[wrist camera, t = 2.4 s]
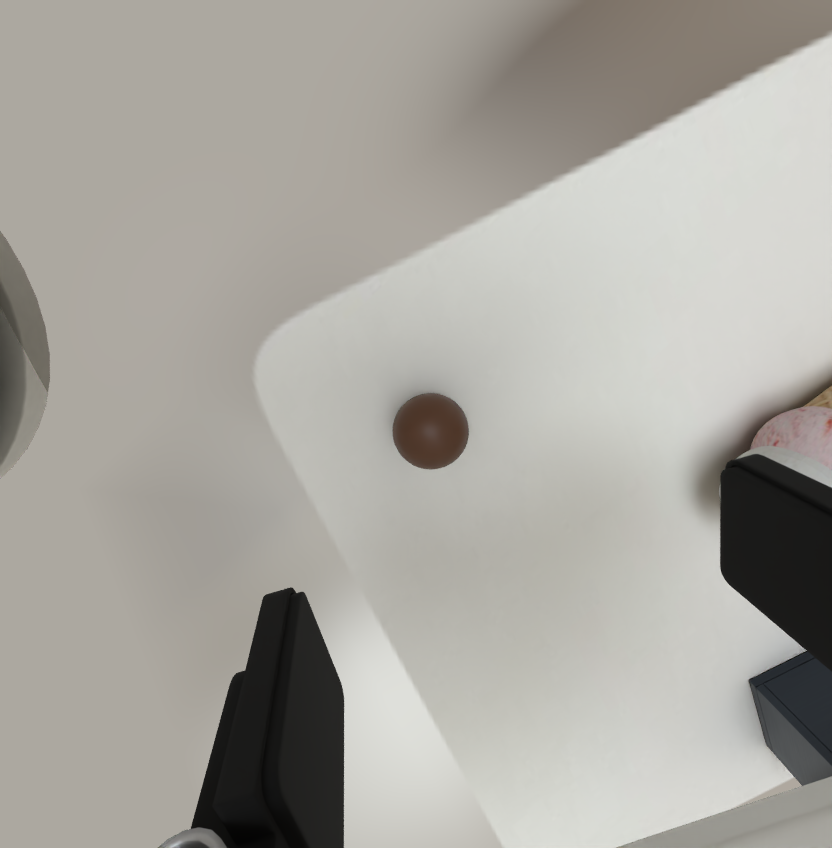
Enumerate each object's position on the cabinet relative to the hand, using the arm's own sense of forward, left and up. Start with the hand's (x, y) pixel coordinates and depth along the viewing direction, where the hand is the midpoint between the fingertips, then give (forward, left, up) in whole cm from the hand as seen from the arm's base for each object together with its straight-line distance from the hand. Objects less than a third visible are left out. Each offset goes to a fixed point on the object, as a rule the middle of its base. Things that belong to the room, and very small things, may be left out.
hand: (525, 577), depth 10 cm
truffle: (0, 0, -9) cm, 9 cm away
